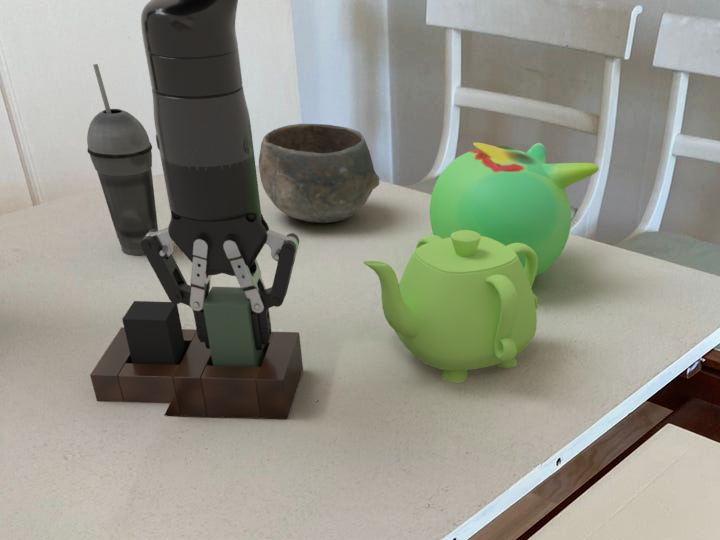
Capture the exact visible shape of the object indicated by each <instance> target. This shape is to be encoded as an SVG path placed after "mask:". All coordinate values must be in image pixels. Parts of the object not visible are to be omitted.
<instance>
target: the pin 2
mask: <svg viewBox="0 0 720 540" xmlns="http://www.w3.org/2000/svg"><path fill="white" fill-rule="evenodd" d="M203 309H204V315H205V321H206V327H207V333H208V339H209V345H210V351H211V357H212V363H213V366H244V367H261V365H262V362H263V359H264V351H263V350H256V348H255V341H254V334H253V326H252V319H251V312H252V309H251V307H250V305H249V302H248V300H247V297H246V295H245V292H244V291H243V290H242V289H241V287H240V286H237V287H236V286H211V287H210V291H209V294H208V296H207V297H206V299H205V301H204V303H203Z"/></svg>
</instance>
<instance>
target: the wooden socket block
mask: <svg viewBox="0 0 720 540" xmlns="http://www.w3.org/2000/svg"><path fill="white" fill-rule="evenodd" d="M182 332H183V337H184V343H185V348H186V353H185V355H184V357H183V359H182V361H181V363H180V365H170V364H133V363H132V359H131V355H130V351H129V346H128V342H127V338H126V333H125V329H124V326H122V327H120V328H119V330H118V332H117V333H116V334H115V336H114V337H113V338H112V341H111V342H110V344H108V346H107V348H106V350H105V351H104V353H103V354H102V356H101V357H100V359H99V360H98V362H97V363H96V365H95V366H94V368H93V369H92V371H91V373H90V374H89V377H90V380H91V384H92V388H93V391H94V395H95V398H96V402H104V403H105V402H110V403H141V404H142V403H144V404H145V403H147V404H148V403H149V404H169V405H168V407H167V409H166V411H165V413H164V414H163V416H165V417H191V418H192V417H197V418H233V419H266V420H267V419H268V420H269V419H270V420H271V419H272V420H274V419H275V420H287V419H289V417H290V413H291V410H292V406H293V403H294V400H295V396H296V394H297V391H298V387H299V384H300V381H301V377H302V374H303V371H304V366H303V365H304V364H303V355H302V345H301V336H300V332H299V331H295V332H294V331H272V333H271V337H270V339H269V342H268V344H265V346H264V349H263V351H264V359H263V362H262V365H261V367H244V366H213V363H212V357H211V351H210V349H207V348H206V346H205V342H200V340H199V338H198V335H197V330H196V328H195V329H194V328H192V329H191V328H182Z"/></svg>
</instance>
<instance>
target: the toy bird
mask: <svg viewBox="0 0 720 540" xmlns="http://www.w3.org/2000/svg"><path fill="white" fill-rule="evenodd" d="M472 145H473V147H475V149H472V150H470V151H467V152H465V153H463V154H461V155H459V156H457V157H456V158H455V159H454V160H452V161H451V162H450V163H449V164H448V165H447V166H446V167H445V168H444V169H443V171H442V172H441V173H440V174H439V177H438V178H437V180H436V182H435V183H434V186H433V189H432V192H431V196H430V202H429V220H430V221H429V222H430V225H431V231H432V235H437V236H439V237H441V238H442V239H444V238H450V237H451V234H452V233H454V232H456V231H460V230H470V231H474V232H477V233H479V234H480V235H481V236H484V237H488V238H491V239H494V240H496V241H498V242H500V243H502V244H504V245H505V246H507V245H509V244H512V243H523V244H526V245H527V246H529V247H530V248H532V249H533V250H534V252H535V253H536V255H537V259H538V267H537V272H536V276H535V277H537V276H539V275H540V274H542V273H544V272H545V271H546V270H548V269H549V268H550V267H551V266H552V265H553V264H554V263H555V262H556V261H557V260H558V258H559V257H560V255H561V254H562V253H563V250H564V249H565V246H566V245H567V242H568V239H569V237H570V232H571V226H572V209H571V204H570V199H569V195H568V193H567V190H566V188H567V187H569V186H571V185H574V184H575V183H578V182H580V181H583V180H585V179H587V178H588V177H591V176H593V175H595V174H596V173H597V172H598V171H599V170H600V168H599V166H598V165H597V164H595V163H593V162H592V163H591V162H562V163H559V162H558V163H547V152H546V148H545V145H544V144H543V143H542V142H537V143H535V144H533V145H532V146H530V148H529V149H528V150H527V151H526V152H525V151H522V150H519V149H515V148H513V147H511V146H506V145H491V144H487V143H483V142H478V141H477V142H473V143H472ZM517 256H518V258H519V260H520V262H521V264H522V266H523V268H524V269H525V263H526V255H525V254H524V253H519V254H517Z"/></svg>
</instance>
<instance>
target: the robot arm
mask: <svg viewBox="0 0 720 540" xmlns="http://www.w3.org/2000/svg"><path fill="white" fill-rule="evenodd" d="M238 2H239V0H149V1H148V2H147V3H146V4H145V6H144V7H143V9H142V10H141V16H140V24H141V25H140V26H141V35H142V41H143V48H144V53H145V59H146V64H147V70H148V76H149V81H150V86H151V93H152V94H151V95H152V105H153V109H152V110H153V120H154V121H153V122H154V128H155V141H156V146H157V149H158V151H159V155H160V156H159V157H160V161H161V167H162V172H163V179H164V183H165V189H166V194H167V199H168V205H169V206H168V207H169V210H170V222H169V223H168V227H166V228H163V229H158V230H156V229H151V230H150V231H149V232H148V233H147V234H146V236H145V237H144V238H143V240H142V242H141V248H142V249H143V251H144V253H145V255H144V256H145V257H146V258H147V261H148V263H149V265H150V266H151V268H152V270H153V271H154V274H155V275H156V277H157V279H158V281H159V283H160V284H161V286H162V288H163V291H164V293H165V294H166V296H167V298H168V299H169V302H172V303H174V304H177V305H179V304H183V305H186V306H188V307H190V309H191V310H192V312H193V318H194V322H195V323H194V324H195V329H196V330H197V335H198V338H199V340H200V342H205V346H206V348H207V349H210V345H209V339H208V333H207V327H206V321H205V315H204V309H203V303H204V301H205V299H206V297H207V296H208V294H209V292H210V290H211V283H212V281H211V280H212V277H213V276H218V275H220V274H224V275H228V276H231V277H236V280H237V283H238V285H239V287H241V289H242V290H243V291H244V292H245V295H246V297H247V300H248V302H249V305H250V307H251V309H252V312H251V319H252V326H253V334H254V341H255V348H256V350H263V349H264V346H265V344H268V342H269V339H270V337H271V333H272V332H273V331H272V323H271V315H270V308H273V307H277V308H279V307H281V306H282V305H283V303H284V301H285V298H286V296H287V294H288V291H289V290H288V289H289V286H290V281H291V277H292V273H293V269H294V265H295V261H296V257H297V253H298V249H299V245H300V238H299V236H298V235H297V234H295V233H293V232H290V233H287V235H285V234H282V233H279V232H277V231H274V230H270V227H269V224H268V223H267V222H266V220H265V219H264V217H263V213H262V209H261V208H262V207H261V200H260V191H259V184H258V175H257V167H256V166H257V165H256V157H255V150H254V141H253V134H252V123H251V118H250V112H249V109H248V104H247V101H246V95H245V91H244V86H243V77H242V67H241V60H240V59H241V58H240V53H239V52H240V51H239V45H238V38H237V31H236V18H237V9H238V5H239V4H238ZM173 243H174V244H175V245H176V247H178V248H179V249H180V251H181V252H182V254H184V256H185V257H186V258H187V260H189V261H190V262H191V271H190V272H191V273H190V284H189V283H188V282H187V281H186V279H185V277H184V275H183V273H182V270H181V269H180V267H179V266H178V263H177V261H176V260H175V258H174V256H173V254H172V253H173V252H174V245H173ZM265 245H267V246H268V247H269V248H270V255H271V258H272V260H274V261H275V262H277V265H276V269H275V273H274V278H273V281H272V286H271V287H268V288H266V286H265V285H266V284H265V283H264V280H263V277H262V271H261V268H260V265H259V263H258V260H257V258H258V256H259V255H260V253H261V251H262V250H263V248H264V246H265Z"/></svg>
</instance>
